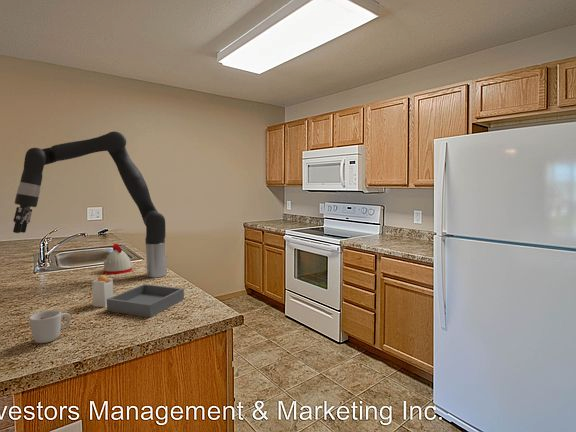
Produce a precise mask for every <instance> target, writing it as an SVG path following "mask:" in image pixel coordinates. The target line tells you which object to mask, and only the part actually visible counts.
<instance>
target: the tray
mask: <svg viewBox="0 0 576 432" xmlns="http://www.w3.org/2000/svg"><path fill="white" fill-rule="evenodd" d="M184 299H185V289H184V288H181V287H175V286H174V287H171V286H163V285H157V284H156V285H154V284H147V283H146V284H145V283H144V284H141V285H138V286H136V287H134V288H131V289H129V290H126V291H124V292H121V293H118V294H117V295H113V297H111V298H108V299H107V306H106V309H107V312H113V313H119V314H120V313H121V314H125V315H126V314H127V315H133V316H134V315H135V316H139V317H145V316H146V318H152V317H154V316H156V315H158V314H159V313H161V312H163V311H165V310H167V309H169V308H171V307H172V306H174V305H176V304H178V303H180V302H182V301H183V300H184Z"/></svg>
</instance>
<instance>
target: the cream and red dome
mask: <svg viewBox="0 0 576 432" xmlns="http://www.w3.org/2000/svg"><path fill="white" fill-rule="evenodd" d="M111 247H112V250H113V251H111V252H110V253H109V254H108V255H107V257H106V259H104V260H103V274H104V275H120V274H121V275H122V274H125V273H129V272H131V271H132V270H133V265H132V262H131V261H132V258H131V257H129V256H128V254H127V253H126V252H125V251H123V249H122V248H121V246H120V243H119V244H118V243H113V245H112V246H111Z"/></svg>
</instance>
